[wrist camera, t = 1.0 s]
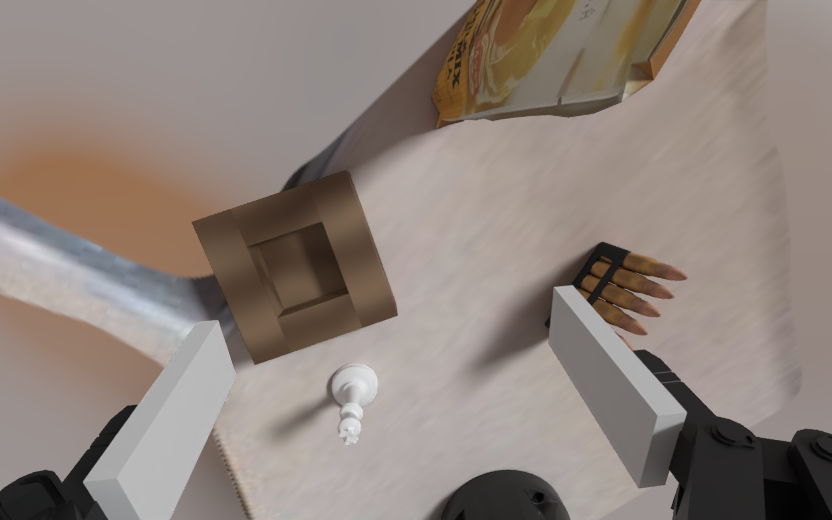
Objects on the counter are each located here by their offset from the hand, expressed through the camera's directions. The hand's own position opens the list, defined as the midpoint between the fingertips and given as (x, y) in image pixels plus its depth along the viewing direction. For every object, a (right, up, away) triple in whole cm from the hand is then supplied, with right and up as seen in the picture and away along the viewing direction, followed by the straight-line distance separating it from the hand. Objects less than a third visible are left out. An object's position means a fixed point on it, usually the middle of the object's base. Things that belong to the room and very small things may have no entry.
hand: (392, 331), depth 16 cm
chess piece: (-6, -10, +27) cm, 30 cm away
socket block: (-10, +3, +24) cm, 26 cm away
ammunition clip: (+18, 0, +27) cm, 33 cm away
